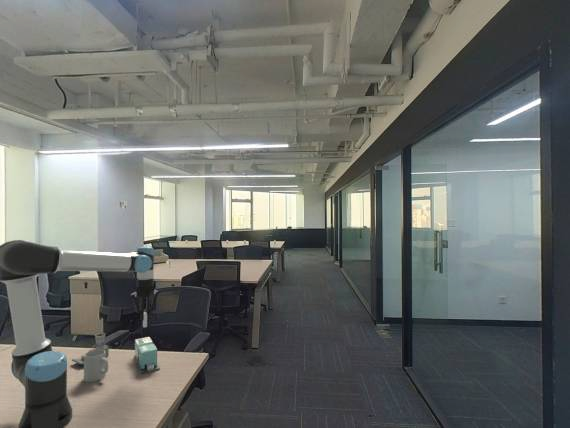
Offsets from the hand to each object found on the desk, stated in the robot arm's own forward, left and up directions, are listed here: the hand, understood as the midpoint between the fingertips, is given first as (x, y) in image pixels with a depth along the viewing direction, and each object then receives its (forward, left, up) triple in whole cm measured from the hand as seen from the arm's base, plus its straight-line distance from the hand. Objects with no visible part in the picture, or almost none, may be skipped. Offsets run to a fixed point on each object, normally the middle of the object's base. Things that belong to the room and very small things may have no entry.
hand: (144, 326), depth 152 cm
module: (-1, -1, -18) cm, 18 cm away
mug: (0, +20, -20) cm, 28 cm away
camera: (+22, +21, -20) cm, 36 cm away
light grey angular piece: (+3, -1, -19) cm, 19 cm away
